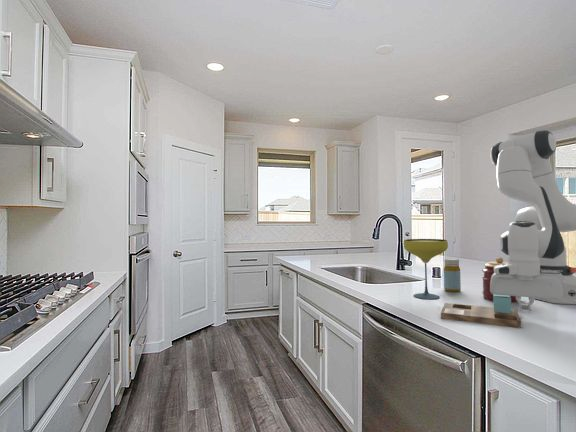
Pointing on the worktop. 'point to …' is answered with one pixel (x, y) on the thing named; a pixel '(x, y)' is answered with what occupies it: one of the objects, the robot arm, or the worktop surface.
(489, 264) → the canister
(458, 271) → the bottle
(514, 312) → the board
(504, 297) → the teal block
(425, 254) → the cocktail glass
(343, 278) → the worktop surface
